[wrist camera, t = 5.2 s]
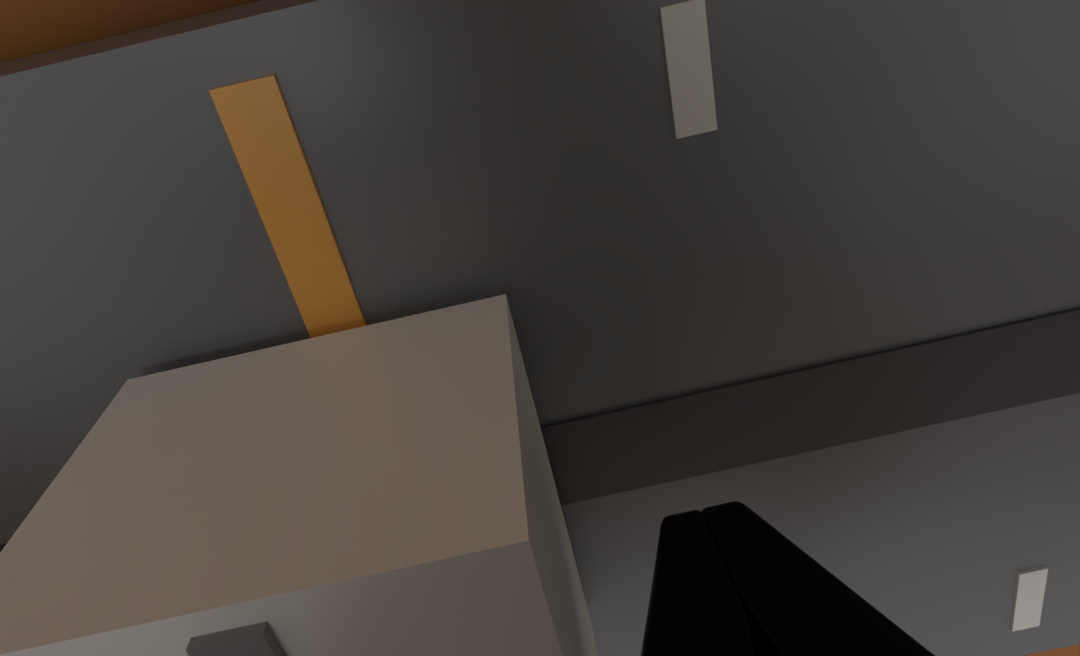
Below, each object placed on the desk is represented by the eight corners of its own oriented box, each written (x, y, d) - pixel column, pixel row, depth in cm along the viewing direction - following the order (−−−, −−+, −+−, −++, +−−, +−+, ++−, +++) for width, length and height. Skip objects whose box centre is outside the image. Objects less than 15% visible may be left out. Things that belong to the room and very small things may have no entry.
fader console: (1198, -225, 9) (1507, -285, 6) (1078, 486, 14) (1219, 618, 12) (-254, 124, 10) (-541, 206, 7) (145, 684, 15) (73, 856, 12)
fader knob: (506, 294, 8) (530, 551, 5) (592, 623, 10) (646, 942, 7) (127, 378, 8) (-100, 688, 5) (299, 686, 10) (223, 1027, 7)
